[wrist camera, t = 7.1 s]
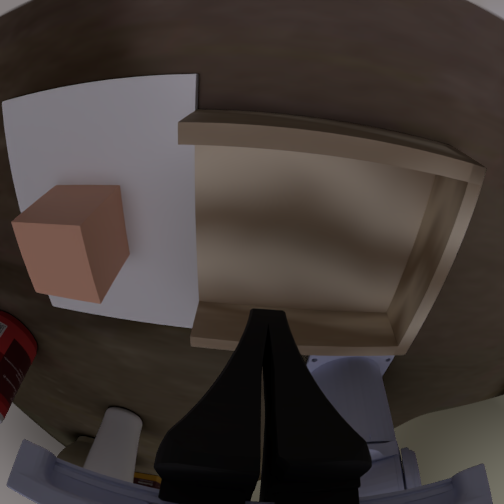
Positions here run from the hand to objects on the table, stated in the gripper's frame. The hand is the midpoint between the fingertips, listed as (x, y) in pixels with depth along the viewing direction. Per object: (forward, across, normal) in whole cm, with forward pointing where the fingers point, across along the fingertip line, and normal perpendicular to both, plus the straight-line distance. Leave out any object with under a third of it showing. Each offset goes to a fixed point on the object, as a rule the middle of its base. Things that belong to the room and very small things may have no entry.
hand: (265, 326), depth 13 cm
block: (+7, +12, 0) cm, 14 cm away
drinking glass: (+8, +17, +30) cm, 35 cm away
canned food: (+8, +28, +16) cm, 34 cm away
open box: (+8, -3, 0) cm, 8 cm away
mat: (+8, +11, 0) cm, 14 cm away
